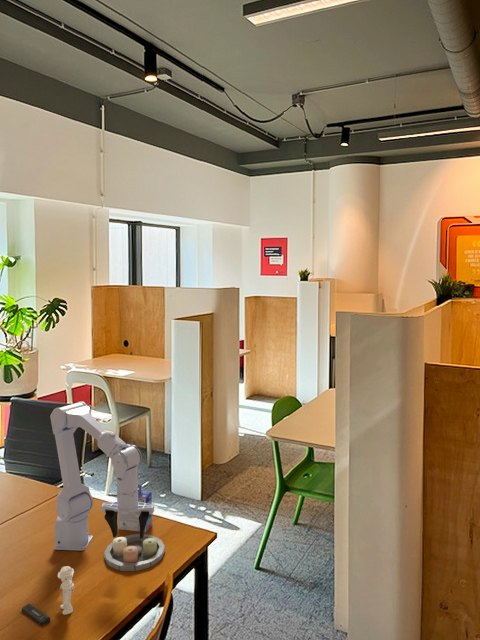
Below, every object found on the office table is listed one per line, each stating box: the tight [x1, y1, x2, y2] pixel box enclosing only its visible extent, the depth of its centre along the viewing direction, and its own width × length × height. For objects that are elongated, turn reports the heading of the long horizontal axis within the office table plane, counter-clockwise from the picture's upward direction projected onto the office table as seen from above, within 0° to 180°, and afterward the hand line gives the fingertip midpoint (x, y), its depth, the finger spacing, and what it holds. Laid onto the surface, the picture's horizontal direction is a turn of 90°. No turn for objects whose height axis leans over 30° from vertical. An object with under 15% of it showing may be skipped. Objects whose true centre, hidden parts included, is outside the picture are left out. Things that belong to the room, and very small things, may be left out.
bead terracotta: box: [123, 546, 138, 563], centre depth 151 cm, size 4×4×4 cm
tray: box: [103, 533, 166, 572], centre depth 156 cm, size 17×17×2 cm
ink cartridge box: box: [117, 484, 153, 533], centre depth 172 cm, size 10×6×14 cm, turn 79°
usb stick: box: [21, 603, 51, 626], centre depth 131 cm, size 10×3×2 cm, turn 53°
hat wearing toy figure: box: [57, 565, 75, 616], centre depth 133 cm, size 9×4×12 cm, turn 27°
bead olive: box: [143, 538, 157, 558], centre depth 156 cm, size 4×4×4 cm
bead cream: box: [112, 536, 127, 557], centre depth 156 cm, size 4×4×4 cm
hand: (128, 536), depth 149 cm, fingers open, 7 cm apart
